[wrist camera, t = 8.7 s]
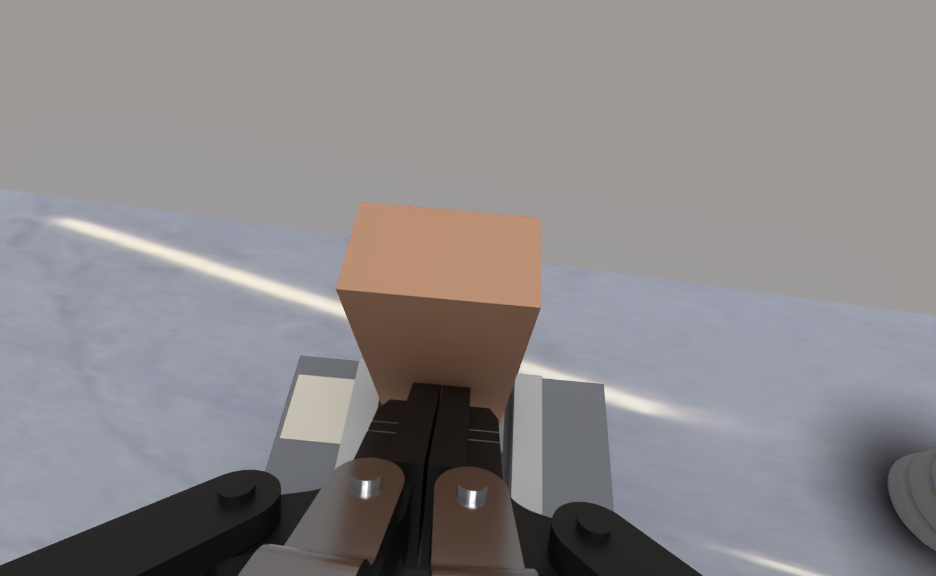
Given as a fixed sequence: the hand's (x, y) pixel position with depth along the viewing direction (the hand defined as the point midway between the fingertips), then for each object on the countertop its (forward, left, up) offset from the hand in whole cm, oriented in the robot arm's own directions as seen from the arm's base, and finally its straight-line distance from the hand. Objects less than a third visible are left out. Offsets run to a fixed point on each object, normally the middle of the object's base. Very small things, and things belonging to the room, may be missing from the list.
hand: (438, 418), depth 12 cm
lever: (0, -2, -5) cm, 5 cm away
